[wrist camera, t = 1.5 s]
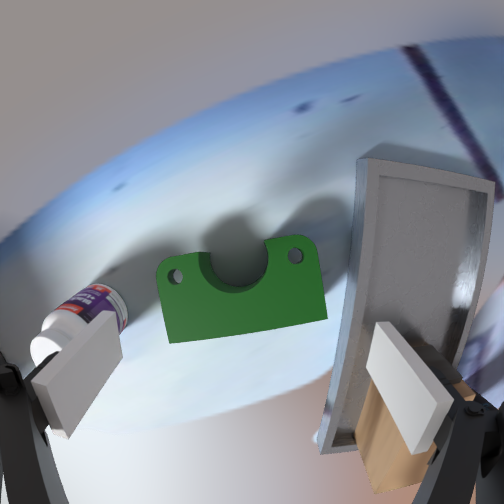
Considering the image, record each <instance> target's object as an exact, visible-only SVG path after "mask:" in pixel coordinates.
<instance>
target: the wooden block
mask: <svg viewBox="0 0 504 504" xmlns="http://www.w3.org/2000/svg"><path fill="white" fill-rule="evenodd" d="M412 349H413V350H414V351H415V352H416V353H417V354H418V356H419V357H420V358H421V359H422V360H423V362H424V363H425V364H426V365H427V366H434V367H435V368H437V369H438V370H440V371H441V372H442V373H443V374H444V375H445V377H446V379H448V380H449V381H450V383H451V384H452V385H453V386H454V387H455V388H456V390H457V391H458V392H459V393H460V395H461V396H462V397H463V398H464V399H465V401H473V399H474V397H475V395H476V394H475V393H474V392H473V390H472V389H471V388H470V387H469V386H468V385H467V384H466V383H465V382H464V381H463V380H462V378H463V377H462V376H461V375H460V373H459V372H458V371H457V370H456V369H455V368H454V367H453V366H452V365H451V364H450V363H449V362H448V361H447V360H446V359H445V358H444V357H443V356H442V355H441V354H440V353H439V352H438V351H437V350H436V349H435V348H434V347H433V345H423V346H414V347H412ZM353 436H354V438H355V441H356V444H357V447H358V449H359V452H360V455H361V457H362V460H363V463H364V466H365V469H366V471H367V474H368V477H369V480H370V483H371V486H372V489H373V491H374V494H378V493H382V492H386V491H391V490H395V489H399V488H402V487H406V486H410V485H413V484H417V483H420V482H422V481H423V478H424V476H425V474H426V471H427V469H428V466H429V465H427V463H428V461H429V460H430V458H431V456H432V455H433V453H434V451H435V450H436V448H437V446H436V444H435V443H434V441H433V442H432V444H431V446H430V448H429V449H428V451H426V452H422V453H418V454H414V455H411V453H410V451H409V449H408V447H407V445H406V443H405V441H404V439H403V437H402V435H401V433H400V431H399V429H398V427H397V425H396V423H395V421H394V419H393V417H392V415H391V413H390V412H389V410H388V408H387V406H386V404H385V402H384V400H383V398H382V396H381V394H380V392H379V391H378V389H377V387H376V385H375V383H374V381H373V379H371V382H370V386H369V389H368V392H367V396H366V399H365V402H364V406H363V409H362V412H361V415H360V418H359V421H358V424H357V427H356V430H355V433H354V435H353Z"/></svg>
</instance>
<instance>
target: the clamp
mask: <svg viewBox="0 0 504 504" xmlns="http://www.w3.org/2000/svg"><path fill="white" fill-rule="evenodd" d="M264 243H265V246H266V248H267V252H268V264H267V267H266V270H265V272H264V273H263V275H262V276H261V277H260V278H259V279H258V280H257V281H256V282H254V283H253V284H250V285H248V286H243V287H235V286H231V285H228V284H226V283H224V282H222V281H221V280H220V279H219V278H218V277H217V276H216V275H215V273H214V271H213V269H212V267H211V263H210V253H208V252H195V253H190V254H184V255H179V256H173V257H169V258H167V259H165V260H164V261H162V262H161V264H160V265H159V267H158V269H157V272H156V280H157V286H158V291H159V297H160V302H161V307H162V312H163V317H164V321H165V326H166V331H167V335H168V340H169V344H171V343H180V342H189V341H197V340H205V339H212V338H220V337H227V336H234V335H241V334H247V333H253V332H260V331H266V330H272V329H277V328H283V327H288V326H294V325H299V324H305V323H310V322H315V321H320V320H325V319H328V317H327V310H326V303H325V296H324V290H323V283H322V277H321V271H320V265H319V259H318V253H317V249H316V247H315V245H314V243H313V242H312V241H311V240H310V239H309V238H307V237H305V236H303V235H290V236H284V237H279V238H273V239H267V240H264ZM292 248H297V249H299V250H300V251H301V253H302V258H301V260H300V262H298V263H296V264H293V263H291V262H290V261H289V259H288V252H289V251H290V250H291V249H292ZM176 269H178V270H180V271H181V273H182V275H183V279H182V282H181V283H177V282H176V281H175V280H174V278H173V273H174V271H175V270H176Z"/></svg>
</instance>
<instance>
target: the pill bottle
mask: <svg viewBox="0 0 504 504" xmlns="http://www.w3.org/2000/svg"><path fill="white" fill-rule="evenodd" d="M103 310H105V311H113V312H116V318H117V325H118V332H119V335H120V334H121V332H122V331H123V330H124V328H125V326H126V324H127V320H128V312H127V308H126V305H125V303H124V301H123V299H122V298H121V296H120V295H119V294H118V293H117V292H116V291H115V290H113V289H112V288H110V287H109V286H107V285H104V284H92V285H89V286H87V287H86V288H84V289H83V290H81V291H80V292H78V293H77V294H76V295H74V296H73V297H71V298H70V299H69V300H67V301H66V302H65V303H63V304H62V305H60V306H59V307H58V308H56V309H55V310H54V311H52V312H51V313H50V314H49V315H48V316H47V317H46V318H45V320H44V322H43V325H42V331H41V333H39V334H38V335H37V336H36V337H35V338H34V339H33V340H32V342H31V345H30V352H31V356H32V359H33V361H34V363H35V365H36V367H37V366H38V365H39V364H40V363H42V361H43V360H44V359H45V358H46V357H47V356H48V355H50V354H52V353H54V352H56V351H59V352H60V351H61V350H62V349H63V348H64V347H65V346H66V345H67V344H68V343H69V342H70V341H71V340H72V339H73V338H74V337H75V336H76V335H77V334H78V333H79V332H80V331H81V330H83V329H84V328H85V327H86V326H87V325H88V324H89V323H90V322H91V321H92V320H93V319H94V318H95V317H96V316H97V315H98V314H99V313H100V312H102V311H103Z"/></svg>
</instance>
